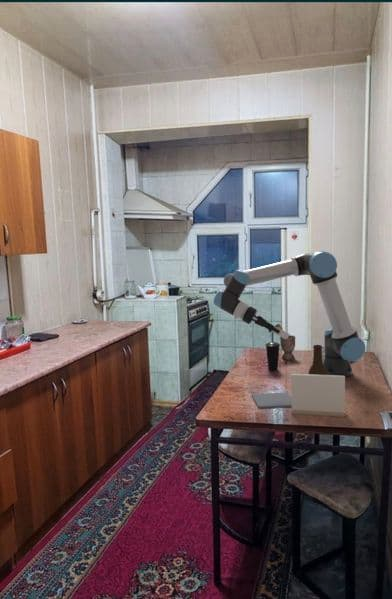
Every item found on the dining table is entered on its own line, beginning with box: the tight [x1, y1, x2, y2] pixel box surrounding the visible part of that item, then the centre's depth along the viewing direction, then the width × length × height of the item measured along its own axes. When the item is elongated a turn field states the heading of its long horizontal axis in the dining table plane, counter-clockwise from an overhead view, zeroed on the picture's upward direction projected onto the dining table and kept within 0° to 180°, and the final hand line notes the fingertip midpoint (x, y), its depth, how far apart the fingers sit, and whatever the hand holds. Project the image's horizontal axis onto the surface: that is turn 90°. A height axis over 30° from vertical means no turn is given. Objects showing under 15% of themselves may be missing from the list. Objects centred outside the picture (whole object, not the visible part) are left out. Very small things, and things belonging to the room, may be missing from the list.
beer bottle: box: [308, 344, 327, 375], centre depth 190 cm, size 8×8×24 cm
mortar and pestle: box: [276, 323, 296, 361], centre depth 265 cm, size 12×9×20 cm
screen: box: [291, 373, 346, 418], centre depth 178 cm, size 20×6×15 cm, turn 75°
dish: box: [311, 346, 351, 363], centre depth 262 cm, size 22×22×5 cm
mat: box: [251, 392, 292, 409], centre depth 194 cm, size 16×16×1 cm
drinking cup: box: [265, 331, 281, 372], centre depth 242 cm, size 8×8×20 cm
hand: (287, 336), depth 200 cm, fingers open, 13 cm apart
